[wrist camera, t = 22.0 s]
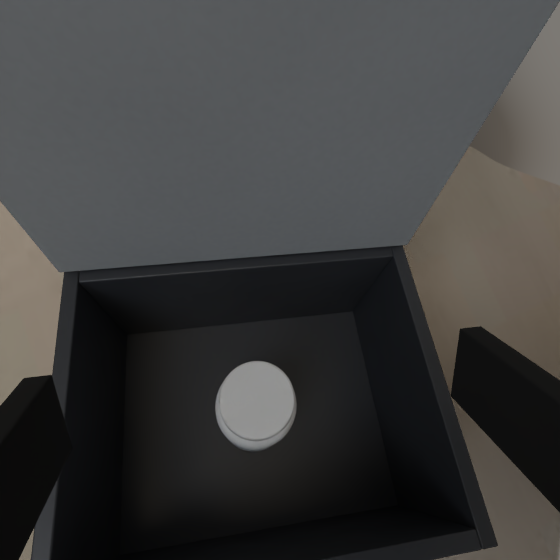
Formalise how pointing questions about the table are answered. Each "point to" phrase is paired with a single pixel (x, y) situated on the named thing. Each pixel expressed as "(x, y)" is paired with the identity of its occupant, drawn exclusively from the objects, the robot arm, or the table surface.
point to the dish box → (279, 457)
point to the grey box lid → (242, 120)
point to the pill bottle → (255, 406)
